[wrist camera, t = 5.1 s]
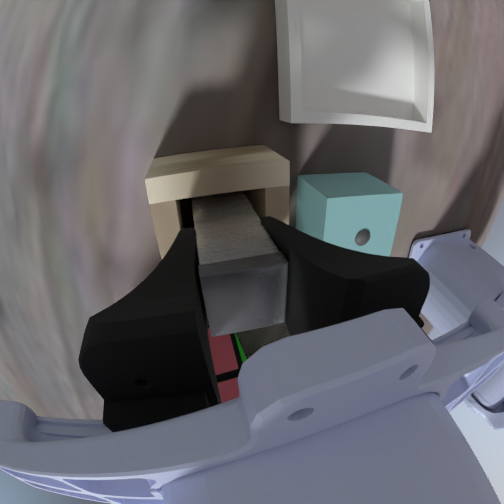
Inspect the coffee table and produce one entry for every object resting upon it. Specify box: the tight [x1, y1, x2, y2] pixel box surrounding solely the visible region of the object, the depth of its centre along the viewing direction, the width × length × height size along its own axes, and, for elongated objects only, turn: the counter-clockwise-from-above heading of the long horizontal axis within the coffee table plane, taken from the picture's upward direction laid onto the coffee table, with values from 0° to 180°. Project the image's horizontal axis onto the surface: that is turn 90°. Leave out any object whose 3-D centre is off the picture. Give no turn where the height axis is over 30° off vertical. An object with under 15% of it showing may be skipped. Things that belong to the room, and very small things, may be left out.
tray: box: [275, 0, 434, 133], centre depth 12 cm, size 10×10×2 cm
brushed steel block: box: [191, 191, 288, 337], centre depth 12 cm, size 3×3×8 cm
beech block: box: [145, 145, 290, 259], centre depth 14 cm, size 6×6×4 cm
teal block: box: [295, 172, 403, 257], centre depth 16 cm, size 5×5×4 cm
